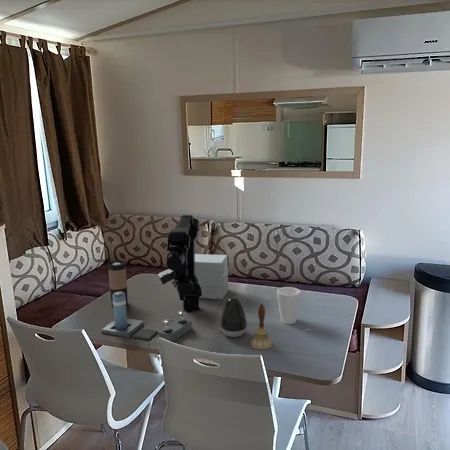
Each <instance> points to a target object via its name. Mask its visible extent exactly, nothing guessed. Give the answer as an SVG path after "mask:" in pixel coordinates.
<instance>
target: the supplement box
mask: <svg viewBox="0 0 450 450" xmlns="http://www.w3.org/2000/svg"><path fill="white" fill-rule="evenodd" d="M228 263H229V262H228V254H205V253H204V254H202V253H195V275H196V277H197V278H198V284H200V287H201V290H202V296H200V297H199V298H200V299H213V300H223V299H224V297H225V296H226V294H227V293H228V291H229V273H228V272H229V270H228V269H229V268H228Z"/></svg>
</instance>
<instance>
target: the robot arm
mask: <svg viewBox="0 0 450 450" xmlns="http://www.w3.org/2000/svg"><path fill="white" fill-rule="evenodd" d="M179 218H180V219H179V222H178V224H177V226H176V228H172V229H171V231H170V232H169V233H168V236H167V244H166V251H167V252H170V256H169V257H168V258H167V259H166V266H167V268H168V269H165V270H164V271H161V272H159V273H158V274H157V276H158V278H159V281H160V282H161V285H166V284H167V283H168V282H170V281H171V283H172V285H173V287H174V288H175V289H176V292H177V293H178V297H179V301H180V302H182V309H184V310H183V311H186V312H187V313H189V312H190V313H191V312H195V311H201V307H200V299H199V297H200V296H202V290H201V287H200V284H198V278H197V277H196V275H195V254H196V240H197V238H198V237H199V234H200V233H199V232H200V231H201V223H200V221H199V219H197V218H195V217H194V216H193V215H192V214H183V215H181V216H180V217H179Z"/></svg>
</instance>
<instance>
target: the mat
mask: <svg viewBox="0 0 450 450" xmlns="http://www.w3.org/2000/svg"><path fill="white" fill-rule="evenodd" d="M158 332H159V331H158V330H155V329H149V328H148V329H147V328H143V327H141V328H140V329H138V331H137V332H135V333H133V334H132V338H133V339H137V340H138V339H139V340H144V341H150V340H152V338H154V336H156V335H157V334H159V333H158Z"/></svg>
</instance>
